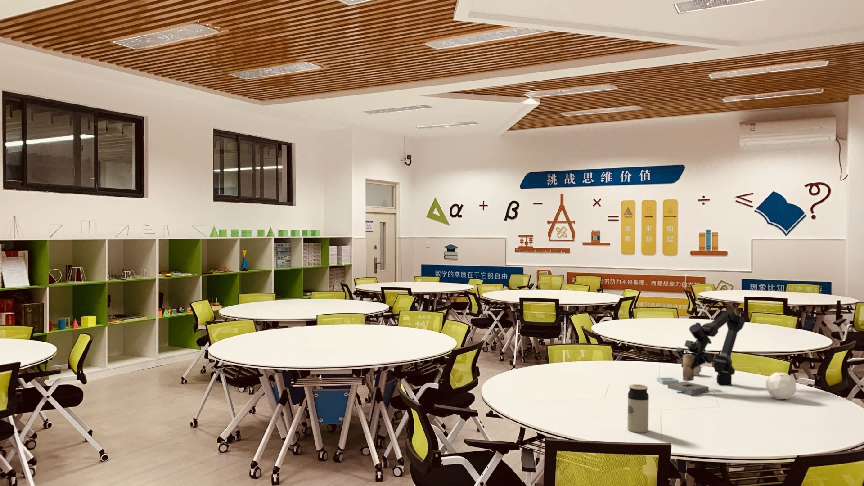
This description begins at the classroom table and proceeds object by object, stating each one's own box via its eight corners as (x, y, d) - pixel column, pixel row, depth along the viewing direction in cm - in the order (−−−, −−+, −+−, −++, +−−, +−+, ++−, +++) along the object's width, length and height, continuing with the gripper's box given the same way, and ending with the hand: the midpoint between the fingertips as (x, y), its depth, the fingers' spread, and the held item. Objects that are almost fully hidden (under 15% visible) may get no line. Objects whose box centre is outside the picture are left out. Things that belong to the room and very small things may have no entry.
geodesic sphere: (804, 393, 299) (798, 367, 307) (772, 391, 301) (767, 365, 309) (795, 405, 310) (789, 379, 318) (765, 403, 313) (760, 378, 321)
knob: (687, 378, 327) (687, 353, 327) (695, 380, 323) (696, 354, 323) (680, 379, 325) (681, 354, 324) (689, 381, 320) (689, 355, 320)
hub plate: (684, 386, 333) (684, 381, 333) (708, 392, 321) (708, 386, 321) (667, 390, 326) (667, 384, 326) (691, 395, 314) (691, 389, 314)
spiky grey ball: (697, 381, 363) (706, 370, 357) (684, 376, 363) (693, 364, 357) (695, 371, 370) (704, 360, 365) (682, 366, 370) (691, 354, 365)
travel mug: (643, 427, 260) (644, 384, 259) (651, 433, 252) (651, 388, 252) (624, 427, 259) (625, 383, 259) (631, 433, 251) (632, 388, 251)
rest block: (672, 383, 342) (673, 377, 342) (678, 386, 335) (678, 380, 335) (656, 383, 342) (656, 377, 342) (662, 386, 335) (662, 380, 335)
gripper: (678, 332, 334) (664, 354, 328) (709, 337, 318) (695, 361, 312) (687, 345, 338) (673, 368, 332) (719, 351, 322) (705, 375, 316)
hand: (686, 367), depth 323 cm, fingers closed on knob, 5 cm apart
